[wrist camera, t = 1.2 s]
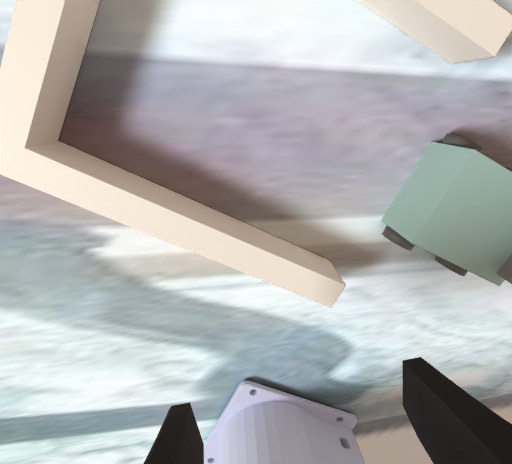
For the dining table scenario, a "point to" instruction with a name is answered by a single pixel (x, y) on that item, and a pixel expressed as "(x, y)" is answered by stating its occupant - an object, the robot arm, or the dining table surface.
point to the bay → (153, 195)
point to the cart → (457, 210)
